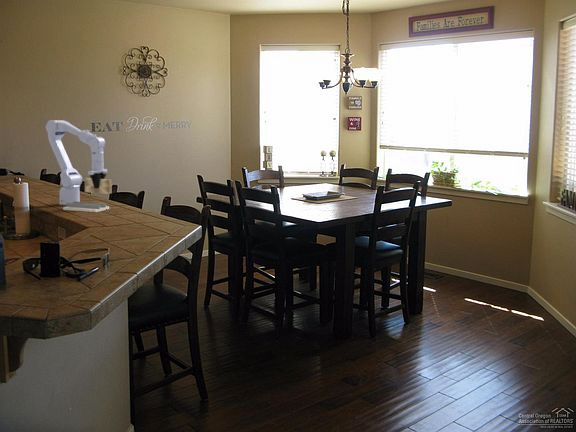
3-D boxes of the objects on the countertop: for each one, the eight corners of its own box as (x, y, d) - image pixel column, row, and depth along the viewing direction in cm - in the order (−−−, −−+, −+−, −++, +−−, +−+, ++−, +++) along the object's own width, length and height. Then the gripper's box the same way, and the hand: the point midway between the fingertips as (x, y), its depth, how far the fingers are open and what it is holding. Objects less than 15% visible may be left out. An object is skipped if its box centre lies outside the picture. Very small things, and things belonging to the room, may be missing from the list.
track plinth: (63, 209, 290) (62, 203, 290) (77, 206, 302) (77, 200, 301) (95, 212, 286) (95, 206, 286) (109, 208, 297) (109, 202, 297)
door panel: (84, 192, 304) (84, 178, 303) (87, 191, 306) (86, 178, 305) (109, 193, 300) (109, 179, 299) (111, 193, 302) (111, 179, 301)
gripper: (96, 162, 293) (97, 190, 295) (112, 160, 306) (112, 187, 309) (84, 161, 294) (84, 189, 296) (100, 160, 308) (100, 186, 310)
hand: (98, 188), depth 303 cm, fingers closed on door panel, 2 cm apart
